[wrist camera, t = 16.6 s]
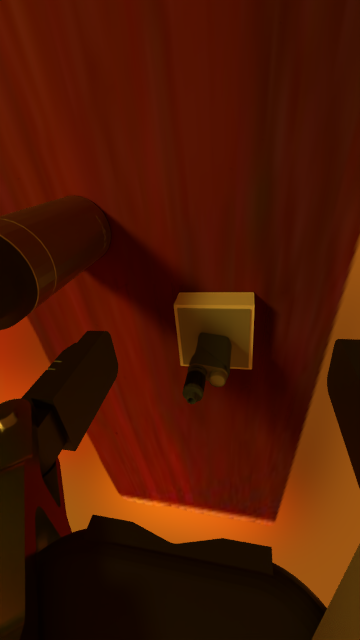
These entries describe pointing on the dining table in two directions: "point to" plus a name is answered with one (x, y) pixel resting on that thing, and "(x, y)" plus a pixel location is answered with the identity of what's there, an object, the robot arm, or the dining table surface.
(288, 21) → the dining table surface
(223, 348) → the vaping device
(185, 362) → the riser
